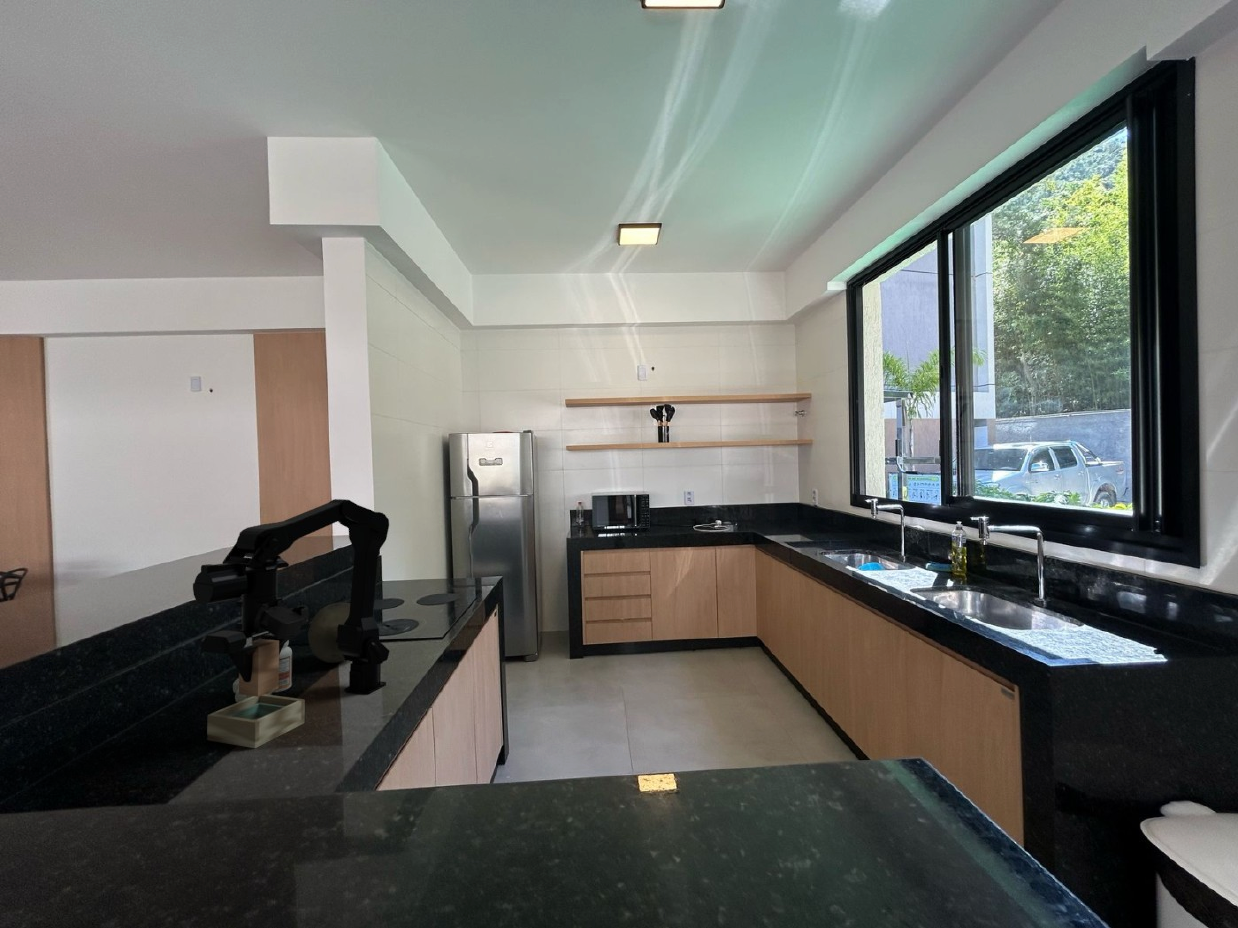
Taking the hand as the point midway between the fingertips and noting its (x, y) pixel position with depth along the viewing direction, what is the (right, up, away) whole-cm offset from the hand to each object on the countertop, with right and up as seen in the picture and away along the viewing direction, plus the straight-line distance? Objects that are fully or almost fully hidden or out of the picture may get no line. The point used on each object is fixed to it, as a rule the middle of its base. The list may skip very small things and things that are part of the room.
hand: (258, 677), depth 111 cm
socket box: (0, -10, 0) cm, 10 cm away
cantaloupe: (-4, -11, +40) cm, 42 cm away
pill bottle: (-9, -11, +22) cm, 26 cm away
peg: (0, -3, 0) cm, 3 cm away
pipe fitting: (-12, -11, +16) cm, 23 cm away
